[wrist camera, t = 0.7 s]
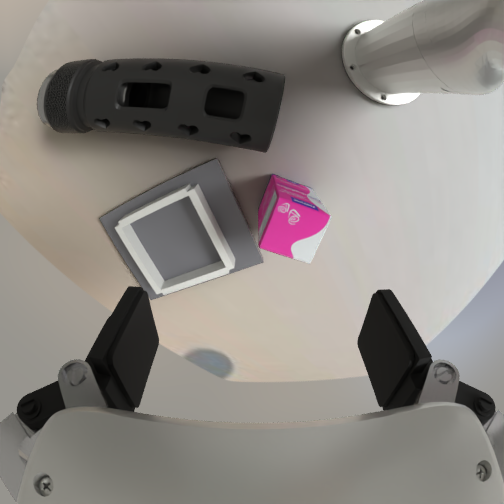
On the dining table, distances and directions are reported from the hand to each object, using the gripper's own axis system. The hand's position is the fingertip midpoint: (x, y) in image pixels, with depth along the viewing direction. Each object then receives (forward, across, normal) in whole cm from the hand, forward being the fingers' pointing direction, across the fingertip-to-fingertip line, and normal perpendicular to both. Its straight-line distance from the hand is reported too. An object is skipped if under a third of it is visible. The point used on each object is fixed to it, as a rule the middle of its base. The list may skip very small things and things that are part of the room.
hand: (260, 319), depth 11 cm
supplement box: (+28, -4, +3) cm, 28 cm away
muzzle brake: (+28, +12, -11) cm, 32 cm away
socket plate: (+28, +11, +9) cm, 31 cm away
